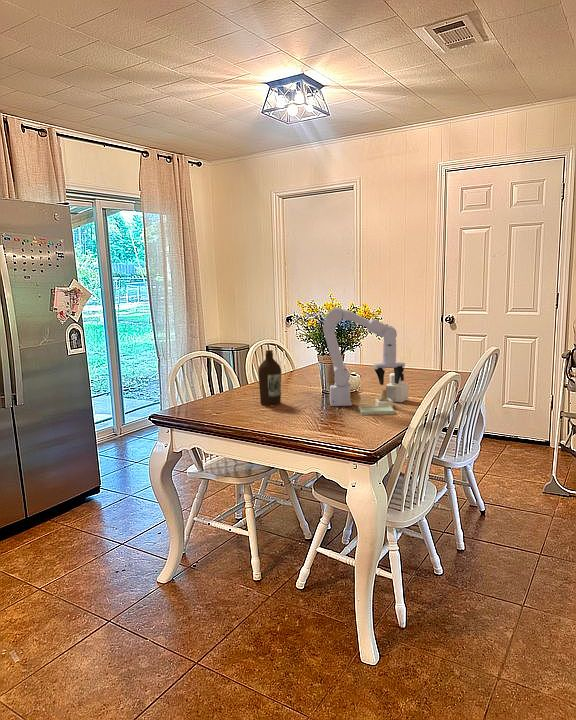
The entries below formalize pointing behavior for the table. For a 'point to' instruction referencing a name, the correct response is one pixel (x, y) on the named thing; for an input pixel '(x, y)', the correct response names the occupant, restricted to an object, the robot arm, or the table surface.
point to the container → (397, 389)
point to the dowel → (383, 395)
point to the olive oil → (270, 380)
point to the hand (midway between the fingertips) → (389, 384)
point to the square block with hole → (384, 402)
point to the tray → (376, 410)
